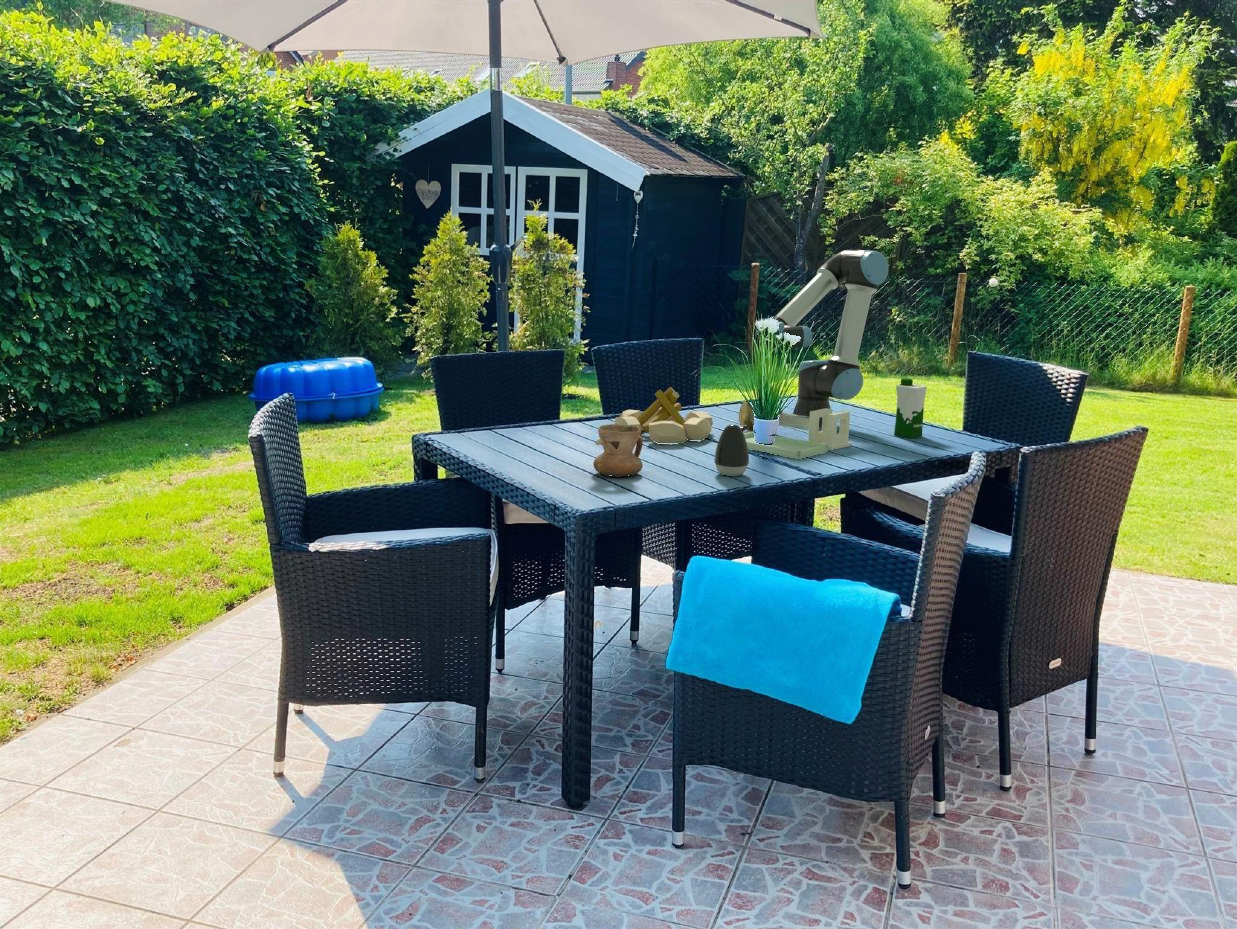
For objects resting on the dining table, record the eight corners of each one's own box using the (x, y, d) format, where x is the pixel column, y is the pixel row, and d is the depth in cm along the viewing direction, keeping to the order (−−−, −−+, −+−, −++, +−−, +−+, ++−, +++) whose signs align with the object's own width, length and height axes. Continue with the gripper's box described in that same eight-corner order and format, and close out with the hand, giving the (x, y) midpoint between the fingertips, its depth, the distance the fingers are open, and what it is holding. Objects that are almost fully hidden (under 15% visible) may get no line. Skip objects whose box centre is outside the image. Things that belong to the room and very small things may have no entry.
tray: (752, 438, 374) (752, 431, 373) (827, 452, 353) (827, 445, 352) (722, 444, 363) (722, 437, 362) (798, 459, 341) (799, 451, 341)
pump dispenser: (756, 476, 319) (758, 425, 315) (728, 480, 313) (730, 428, 310) (734, 469, 327) (736, 420, 324) (707, 473, 322) (708, 423, 318)
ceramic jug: (611, 483, 308) (613, 434, 305) (579, 473, 319) (581, 426, 316) (657, 475, 320) (660, 428, 317) (625, 466, 330) (627, 420, 327)
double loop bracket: (804, 445, 364) (805, 411, 361) (824, 440, 372) (826, 407, 369) (831, 450, 356) (833, 416, 353) (851, 445, 364) (854, 411, 362)
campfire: (728, 433, 384) (729, 385, 380) (689, 450, 355) (690, 399, 351) (640, 423, 400) (640, 378, 396) (595, 439, 371) (596, 390, 367)
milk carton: (904, 432, 388) (908, 377, 383) (926, 436, 381) (930, 380, 377) (890, 435, 382) (893, 379, 378) (911, 439, 375) (916, 382, 371)
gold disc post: (733, 431, 384) (735, 398, 382) (754, 427, 393) (755, 394, 390) (799, 443, 365) (800, 408, 363) (819, 438, 374) (820, 404, 371)
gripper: (765, 369, 367) (763, 437, 373) (794, 365, 379) (791, 430, 384) (748, 367, 372) (745, 434, 378) (777, 363, 384) (774, 427, 389)
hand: (768, 432), depth 381 cm, fingers closed on gold disc post, 3 cm apart
